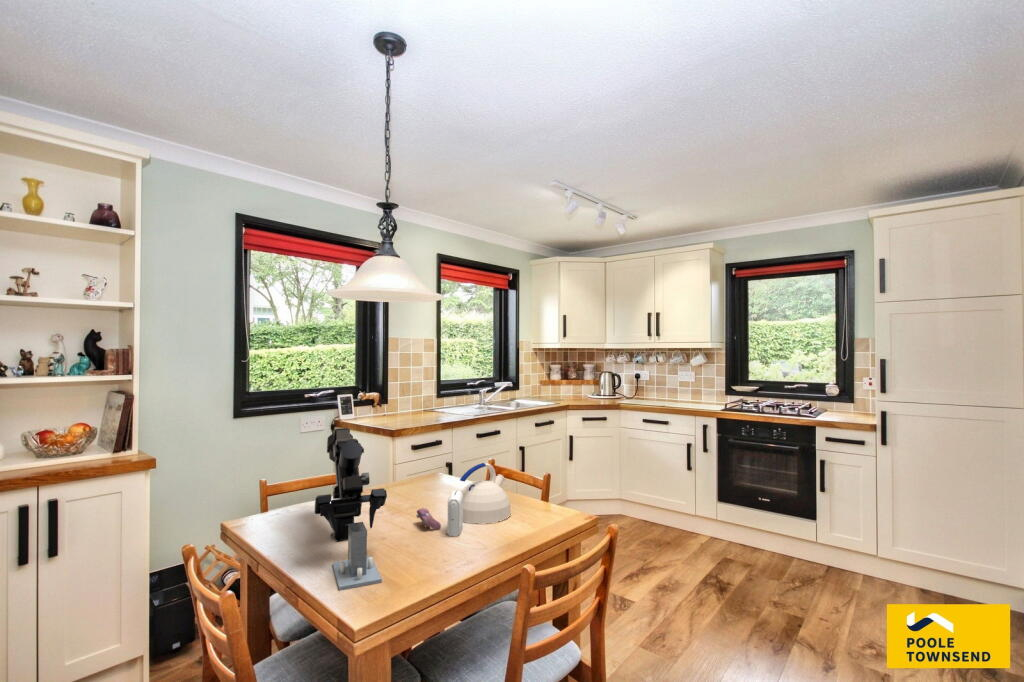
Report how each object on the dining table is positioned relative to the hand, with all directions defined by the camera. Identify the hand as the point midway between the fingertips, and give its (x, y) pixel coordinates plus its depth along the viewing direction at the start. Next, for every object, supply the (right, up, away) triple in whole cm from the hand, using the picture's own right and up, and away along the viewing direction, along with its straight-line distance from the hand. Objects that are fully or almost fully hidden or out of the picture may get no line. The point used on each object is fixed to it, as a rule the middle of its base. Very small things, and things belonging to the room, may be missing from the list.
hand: (353, 530), depth 130 cm
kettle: (+32, -11, +41) cm, 53 cm away
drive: (+3, -8, -6) cm, 10 cm away
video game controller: (+15, -10, +29) cm, 34 cm away
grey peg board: (+3, -9, -6) cm, 11 cm away
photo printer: (+24, -10, +25) cm, 36 cm away
